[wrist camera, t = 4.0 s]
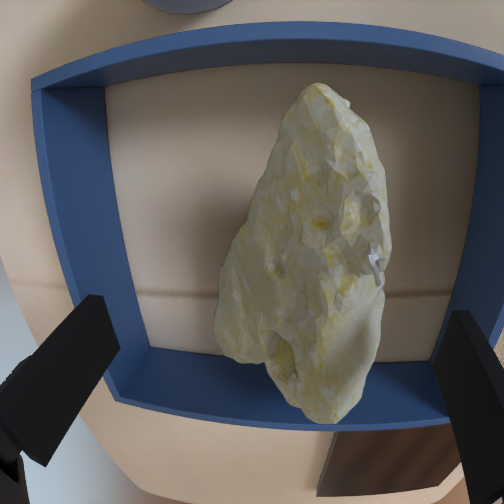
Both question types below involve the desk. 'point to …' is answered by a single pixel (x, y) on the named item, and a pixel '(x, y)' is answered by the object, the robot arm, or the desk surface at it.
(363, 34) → the blue rectangular frame
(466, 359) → the robot arm
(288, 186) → the pale grey rough stone
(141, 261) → the desk surface
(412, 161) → the desk surface
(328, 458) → the board
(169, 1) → the white cylinder
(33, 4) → the desk surface
